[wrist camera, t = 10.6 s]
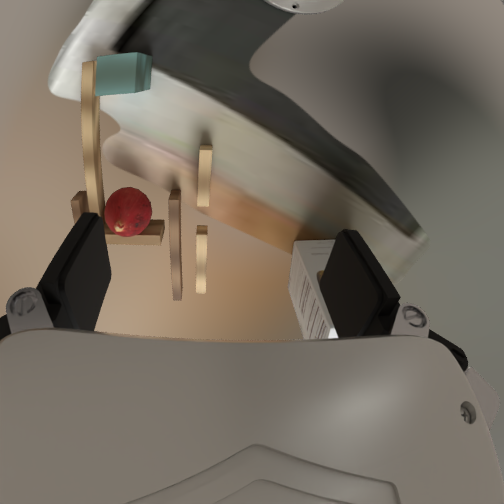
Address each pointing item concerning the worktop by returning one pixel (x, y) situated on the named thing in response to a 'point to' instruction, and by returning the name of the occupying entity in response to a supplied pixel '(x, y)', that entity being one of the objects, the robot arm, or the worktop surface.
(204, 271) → the broken strip
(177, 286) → the lane rails
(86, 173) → the tan frame
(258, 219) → the worktop surface
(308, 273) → the supplement box
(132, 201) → the onion
